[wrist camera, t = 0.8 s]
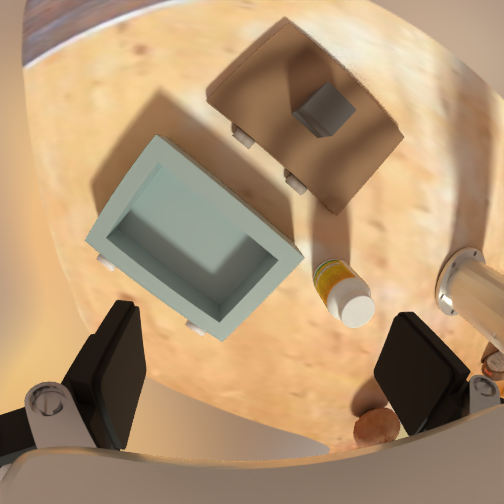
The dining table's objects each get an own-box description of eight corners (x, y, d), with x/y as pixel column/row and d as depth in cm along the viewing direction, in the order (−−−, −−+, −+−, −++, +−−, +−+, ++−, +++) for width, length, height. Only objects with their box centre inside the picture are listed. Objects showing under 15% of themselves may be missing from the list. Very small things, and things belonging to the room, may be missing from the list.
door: (398, 137, 32) (427, 136, 26) (325, 220, 35) (345, 234, 29) (286, 27, 27) (298, 4, 21) (200, 110, 30) (193, 100, 24)
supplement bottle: (356, 265, 37) (389, 297, 28) (338, 298, 39) (365, 337, 30) (323, 251, 36) (352, 283, 27) (305, 287, 38) (326, 327, 29)
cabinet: (294, 243, 36) (304, 257, 31) (217, 325, 39) (216, 347, 34) (166, 137, 30) (156, 134, 26) (97, 236, 33) (80, 248, 29)
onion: (395, 394, 48) (416, 428, 39) (378, 422, 51) (394, 455, 42) (356, 400, 47) (374, 438, 38) (341, 428, 50) (354, 465, 40)
